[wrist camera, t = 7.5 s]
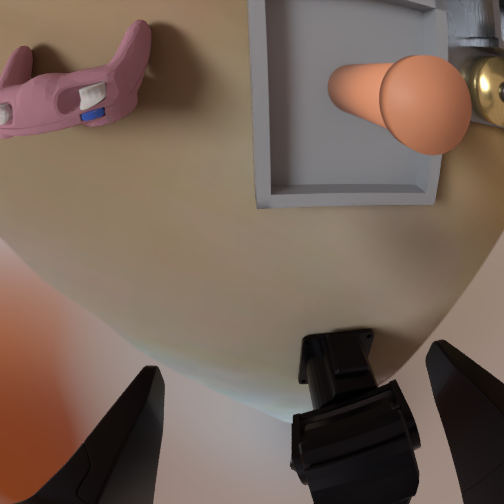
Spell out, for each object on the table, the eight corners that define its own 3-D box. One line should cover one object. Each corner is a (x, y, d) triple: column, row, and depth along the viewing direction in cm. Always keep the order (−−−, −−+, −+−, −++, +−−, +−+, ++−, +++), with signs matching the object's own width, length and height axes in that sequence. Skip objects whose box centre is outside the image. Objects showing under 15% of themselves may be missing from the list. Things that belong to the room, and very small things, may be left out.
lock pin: (378, 119, 17) (466, 159, 10) (322, 116, 17) (385, 151, 10) (380, 63, 15) (473, 67, 8) (322, 57, 15) (389, 46, 8)
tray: (419, 192, 20) (434, 204, 18) (255, 195, 20) (256, 208, 18) (427, 4, 13) (445, 0, 12) (246, -19, 13) (247, -30, 11)
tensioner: (516, 131, 18) (550, 145, 14) (436, 113, 17) (471, 125, 14) (517, 8, 12) (551, 8, 9) (431, -31, 12) (464, -43, 8)
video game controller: (34, 96, 17) (-15, 162, 13) (18, 43, 13) (-45, 101, 9) (162, 78, 18) (133, 145, 14) (157, 13, 14) (116, 58, 10)
